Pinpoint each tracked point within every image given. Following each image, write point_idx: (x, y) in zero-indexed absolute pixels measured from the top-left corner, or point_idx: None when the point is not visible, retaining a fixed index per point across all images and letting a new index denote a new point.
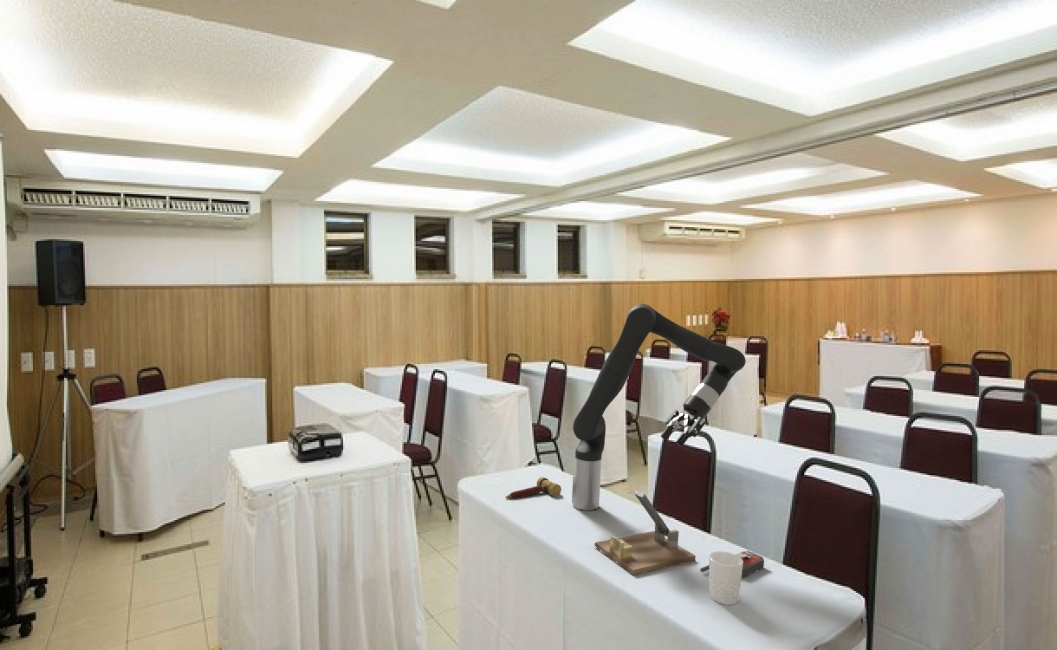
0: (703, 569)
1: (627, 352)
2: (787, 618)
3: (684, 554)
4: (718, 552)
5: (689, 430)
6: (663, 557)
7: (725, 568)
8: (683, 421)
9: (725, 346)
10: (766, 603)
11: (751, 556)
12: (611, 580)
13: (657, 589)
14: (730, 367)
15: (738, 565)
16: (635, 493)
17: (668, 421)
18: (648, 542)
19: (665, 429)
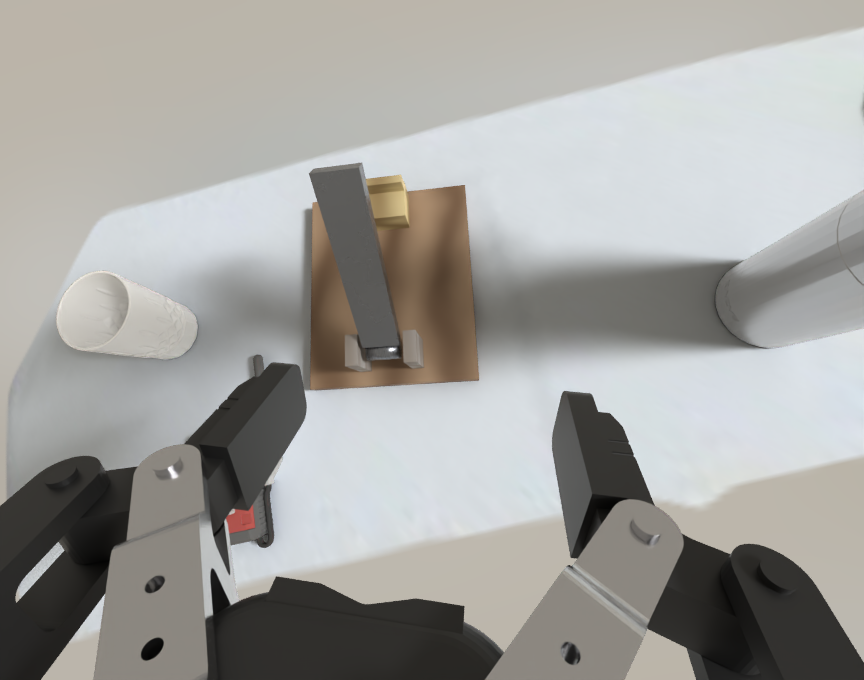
0: (253, 359)
1: None
2: (70, 397)
3: (326, 365)
4: (126, 318)
5: (70, 471)
6: (333, 302)
7: (80, 286)
8: (294, 666)
9: None
10: (119, 402)
11: None
12: (318, 158)
13: (253, 225)
14: None
15: (57, 313)
16: (353, 164)
17: (749, 612)
18: (418, 317)
19: (607, 458)
